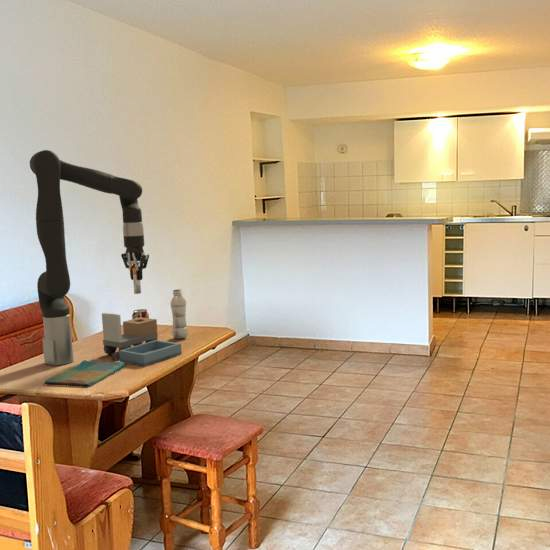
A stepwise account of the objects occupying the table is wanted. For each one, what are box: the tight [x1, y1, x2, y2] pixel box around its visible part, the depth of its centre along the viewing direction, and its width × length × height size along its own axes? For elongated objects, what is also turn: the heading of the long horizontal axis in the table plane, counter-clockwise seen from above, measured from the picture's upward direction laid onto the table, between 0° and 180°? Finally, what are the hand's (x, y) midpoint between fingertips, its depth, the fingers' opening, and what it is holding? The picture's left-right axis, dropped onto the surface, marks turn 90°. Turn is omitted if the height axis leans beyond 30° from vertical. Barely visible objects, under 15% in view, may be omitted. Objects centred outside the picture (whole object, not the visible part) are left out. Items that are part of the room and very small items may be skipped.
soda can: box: [131, 308, 150, 320], centre depth 261 cm, size 7×7×12 cm
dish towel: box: [43, 359, 126, 388], centre depth 213 cm, size 17×23×2 cm
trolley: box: [101, 312, 159, 361], centre depth 240 cm, size 21×10×16 cm, turn 143°
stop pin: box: [132, 267, 142, 295], centre depth 243 cm, size 3×3×10 cm
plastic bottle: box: [169, 288, 189, 340], centre depth 259 cm, size 6×7×20 cm
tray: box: [118, 339, 182, 367], centre depth 231 cm, size 18×13×4 cm
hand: (136, 279), depth 243 cm, fingers closed on stop pin, 2 cm apart
